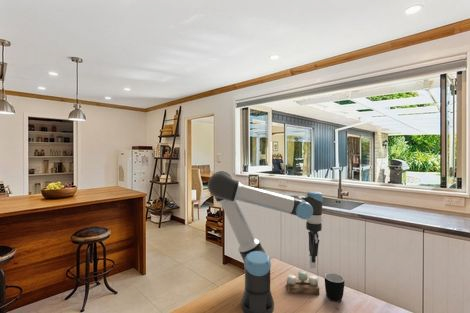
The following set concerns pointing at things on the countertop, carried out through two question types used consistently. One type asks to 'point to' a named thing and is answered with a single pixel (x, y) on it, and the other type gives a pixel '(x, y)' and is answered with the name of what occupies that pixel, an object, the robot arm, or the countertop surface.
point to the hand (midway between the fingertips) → (312, 267)
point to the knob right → (313, 280)
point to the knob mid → (302, 276)
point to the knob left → (291, 279)
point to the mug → (334, 286)
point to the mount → (303, 288)
